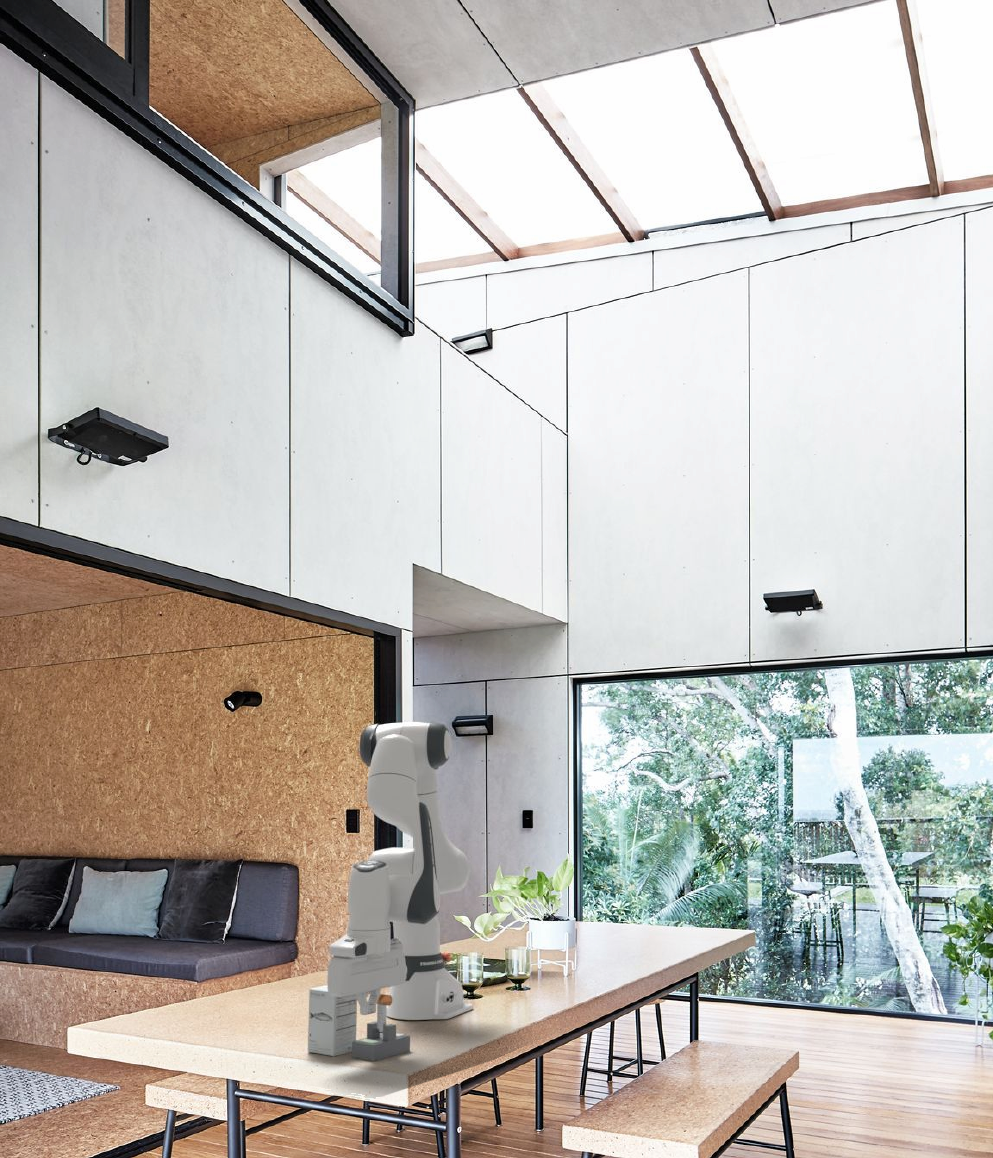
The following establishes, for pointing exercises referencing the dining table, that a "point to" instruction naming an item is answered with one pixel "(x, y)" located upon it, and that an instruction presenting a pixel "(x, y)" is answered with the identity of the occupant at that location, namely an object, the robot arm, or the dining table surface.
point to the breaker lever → (382, 1011)
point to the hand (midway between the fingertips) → (368, 1013)
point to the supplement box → (331, 1022)
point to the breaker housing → (380, 1043)
